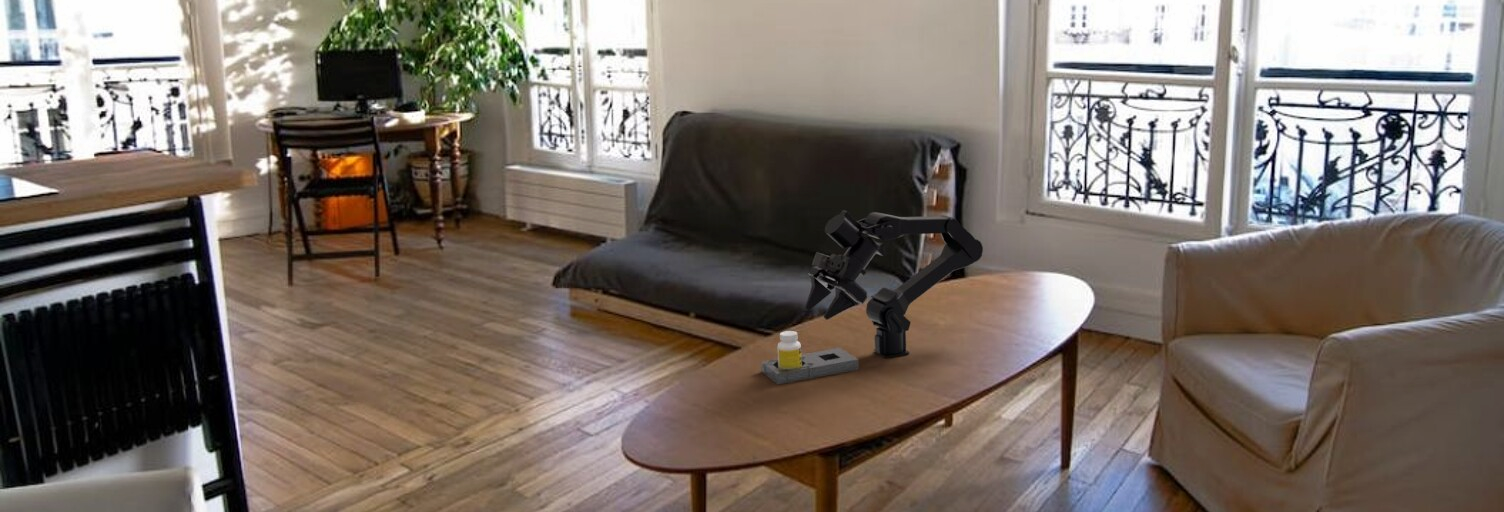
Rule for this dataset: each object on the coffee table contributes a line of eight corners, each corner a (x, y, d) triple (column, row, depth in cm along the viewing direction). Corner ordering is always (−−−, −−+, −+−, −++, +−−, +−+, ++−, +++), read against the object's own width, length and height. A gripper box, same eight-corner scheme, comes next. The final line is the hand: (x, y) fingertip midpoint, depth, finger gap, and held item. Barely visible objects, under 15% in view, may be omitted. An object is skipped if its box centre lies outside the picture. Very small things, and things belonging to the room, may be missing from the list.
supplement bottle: (804, 376, 268) (802, 335, 266) (781, 379, 267) (779, 337, 265) (799, 369, 273) (797, 328, 271) (776, 371, 272) (774, 331, 270)
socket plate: (840, 357, 280) (839, 347, 279) (859, 369, 270) (858, 359, 270) (760, 371, 273) (760, 361, 272) (777, 384, 263) (776, 374, 263)
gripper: (813, 232, 276) (774, 285, 275) (852, 246, 260) (810, 303, 258) (844, 259, 281) (806, 312, 280) (885, 275, 265) (844, 331, 263)
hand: (815, 313), depth 270 cm, fingers open, 9 cm apart
